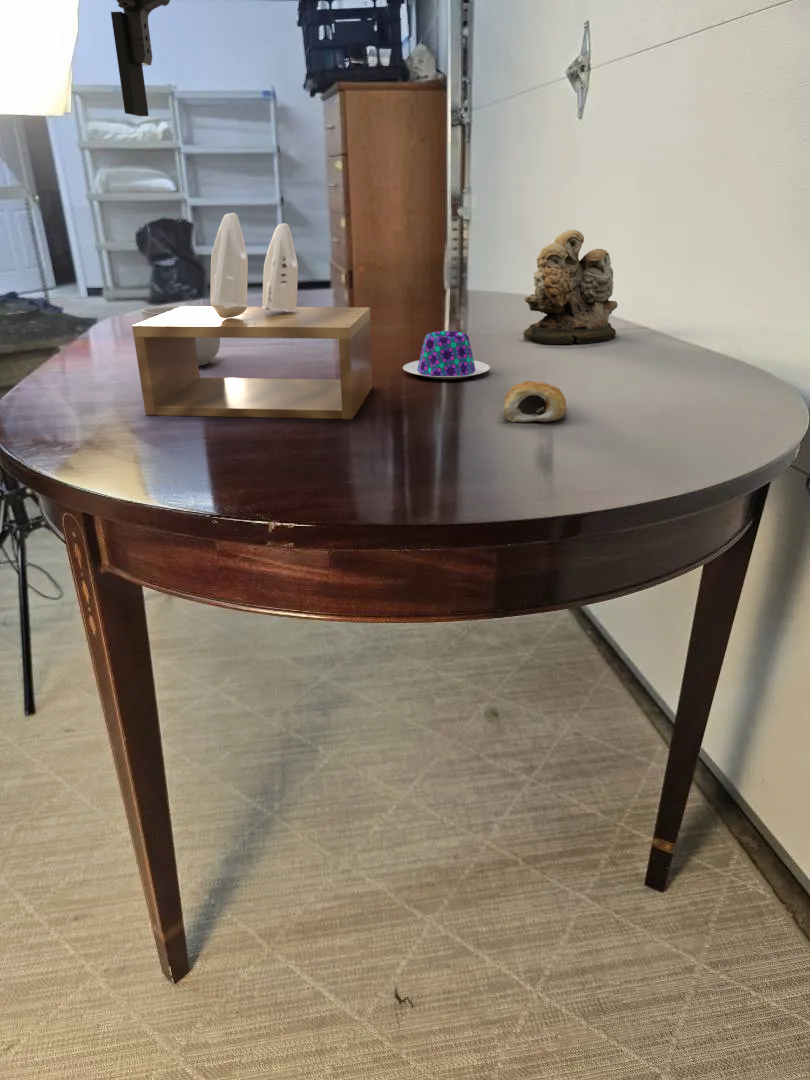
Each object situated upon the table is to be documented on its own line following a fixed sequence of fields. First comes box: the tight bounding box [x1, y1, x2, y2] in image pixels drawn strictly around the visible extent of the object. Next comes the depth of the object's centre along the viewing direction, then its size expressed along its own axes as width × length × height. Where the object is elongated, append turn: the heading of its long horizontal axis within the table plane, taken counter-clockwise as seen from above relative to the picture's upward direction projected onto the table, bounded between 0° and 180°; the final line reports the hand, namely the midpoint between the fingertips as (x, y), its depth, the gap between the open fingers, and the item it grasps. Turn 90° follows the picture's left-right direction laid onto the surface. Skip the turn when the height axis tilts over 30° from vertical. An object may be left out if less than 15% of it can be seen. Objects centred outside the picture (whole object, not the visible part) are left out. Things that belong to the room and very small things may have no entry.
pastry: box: [502, 380, 567, 423], centre depth 87 cm, size 9×7×4 cm
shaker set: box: [209, 212, 299, 318], centre depth 87 cm, size 12×4×11 cm, turn 131°
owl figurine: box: [523, 229, 618, 345], centre depth 127 cm, size 18×12×17 cm, turn 120°
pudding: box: [402, 330, 491, 380], centre depth 106 cm, size 12×12×5 cm
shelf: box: [131, 305, 373, 420], centre depth 92 cm, size 24×15×10 cm, turn 84°
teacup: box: [141, 305, 221, 367], centre depth 111 cm, size 14×11×8 cm
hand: (54, 117), depth 61 cm, fingers open, 13 cm apart
